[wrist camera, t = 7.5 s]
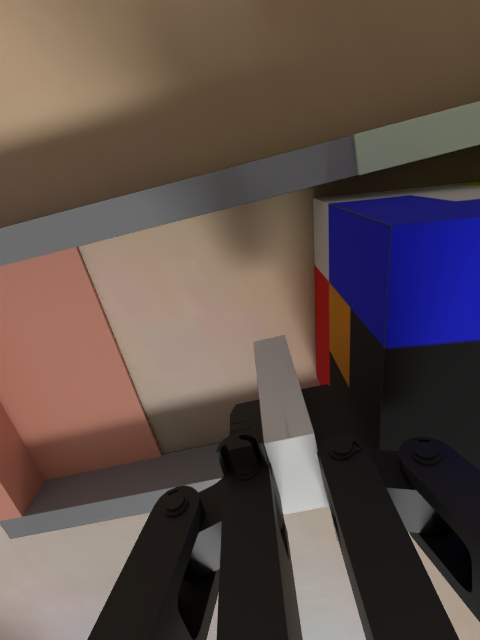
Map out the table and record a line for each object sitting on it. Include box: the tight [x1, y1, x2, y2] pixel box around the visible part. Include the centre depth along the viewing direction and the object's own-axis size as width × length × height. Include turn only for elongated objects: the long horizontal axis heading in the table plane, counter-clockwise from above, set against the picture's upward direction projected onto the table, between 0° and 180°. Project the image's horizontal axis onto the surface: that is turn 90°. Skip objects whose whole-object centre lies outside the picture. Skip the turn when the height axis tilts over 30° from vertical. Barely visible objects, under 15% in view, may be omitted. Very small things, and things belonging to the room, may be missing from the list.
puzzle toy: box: [313, 181, 480, 470], centre depth 15 cm, size 10×10×10 cm
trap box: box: [0, 101, 480, 539], centre depth 19 cm, size 33×17×5 cm, turn 104°
